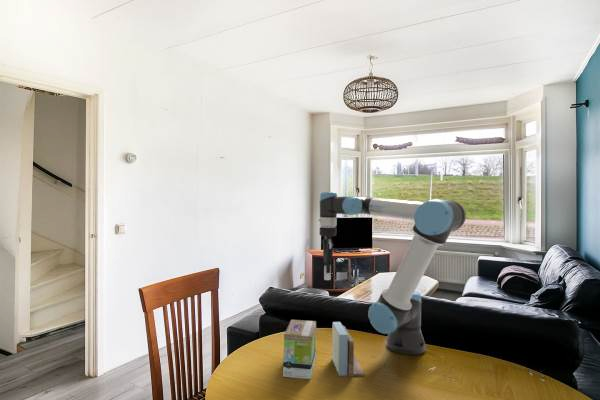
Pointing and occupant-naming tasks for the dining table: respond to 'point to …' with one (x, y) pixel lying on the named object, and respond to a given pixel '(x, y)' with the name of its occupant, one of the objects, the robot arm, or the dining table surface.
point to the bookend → (353, 359)
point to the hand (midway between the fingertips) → (327, 279)
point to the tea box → (299, 349)
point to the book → (339, 348)
